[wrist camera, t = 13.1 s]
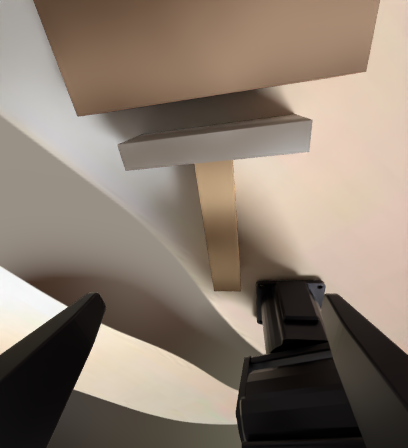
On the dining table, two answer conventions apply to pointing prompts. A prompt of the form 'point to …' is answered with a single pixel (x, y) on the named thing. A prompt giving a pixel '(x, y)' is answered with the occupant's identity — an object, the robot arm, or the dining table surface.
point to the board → (200, 46)
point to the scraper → (219, 173)
